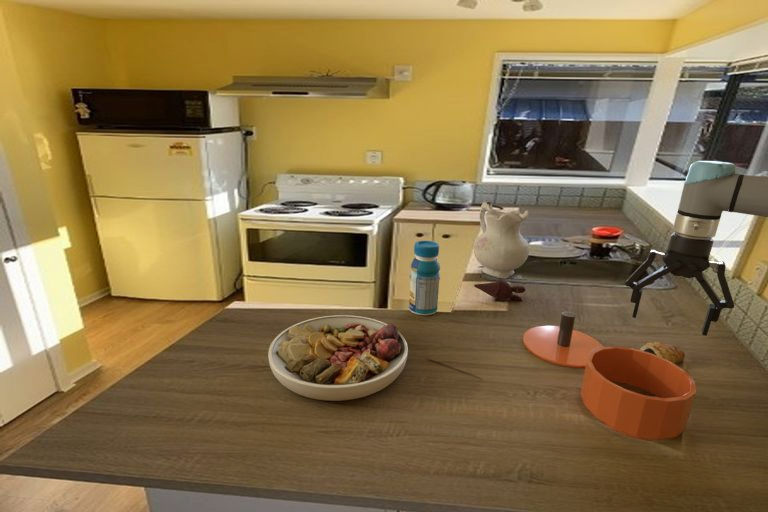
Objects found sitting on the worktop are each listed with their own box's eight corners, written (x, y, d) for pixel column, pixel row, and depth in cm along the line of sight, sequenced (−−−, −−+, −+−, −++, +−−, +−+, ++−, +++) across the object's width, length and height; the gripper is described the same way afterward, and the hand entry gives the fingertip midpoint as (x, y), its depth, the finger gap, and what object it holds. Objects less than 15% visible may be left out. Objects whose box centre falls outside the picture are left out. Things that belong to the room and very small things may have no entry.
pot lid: (610, 344, 106) (618, 310, 103) (598, 380, 91) (606, 342, 88) (534, 323, 116) (539, 292, 113) (512, 352, 101) (517, 317, 98)
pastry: (667, 349, 104) (670, 335, 103) (692, 364, 98) (696, 349, 97) (635, 353, 102) (639, 339, 101) (659, 369, 96) (663, 354, 94)
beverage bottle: (426, 319, 116) (430, 250, 110) (402, 310, 122) (405, 243, 115) (443, 309, 123) (448, 243, 116) (419, 301, 128) (423, 237, 121)
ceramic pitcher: (456, 270, 157) (458, 205, 148) (487, 256, 169) (490, 195, 160) (507, 288, 142) (513, 217, 133) (537, 271, 154) (544, 204, 145)
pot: (684, 402, 85) (695, 365, 82) (683, 456, 71) (696, 414, 68) (589, 372, 94) (596, 338, 91) (572, 415, 80) (579, 376, 78)
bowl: (286, 427, 75) (283, 389, 73) (259, 346, 101) (257, 316, 99) (432, 387, 87) (434, 354, 85) (375, 324, 113) (375, 297, 111)
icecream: (474, 283, 126) (526, 293, 122) (476, 269, 132) (526, 279, 128) (470, 301, 129) (521, 311, 126) (473, 287, 135) (521, 296, 132)
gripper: (625, 228, 94) (605, 314, 101) (771, 251, 81) (738, 348, 88) (628, 222, 100) (610, 303, 107) (766, 242, 87) (735, 334, 94)
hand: (668, 324), depth 97 cm, fingers open, 13 cm apart
